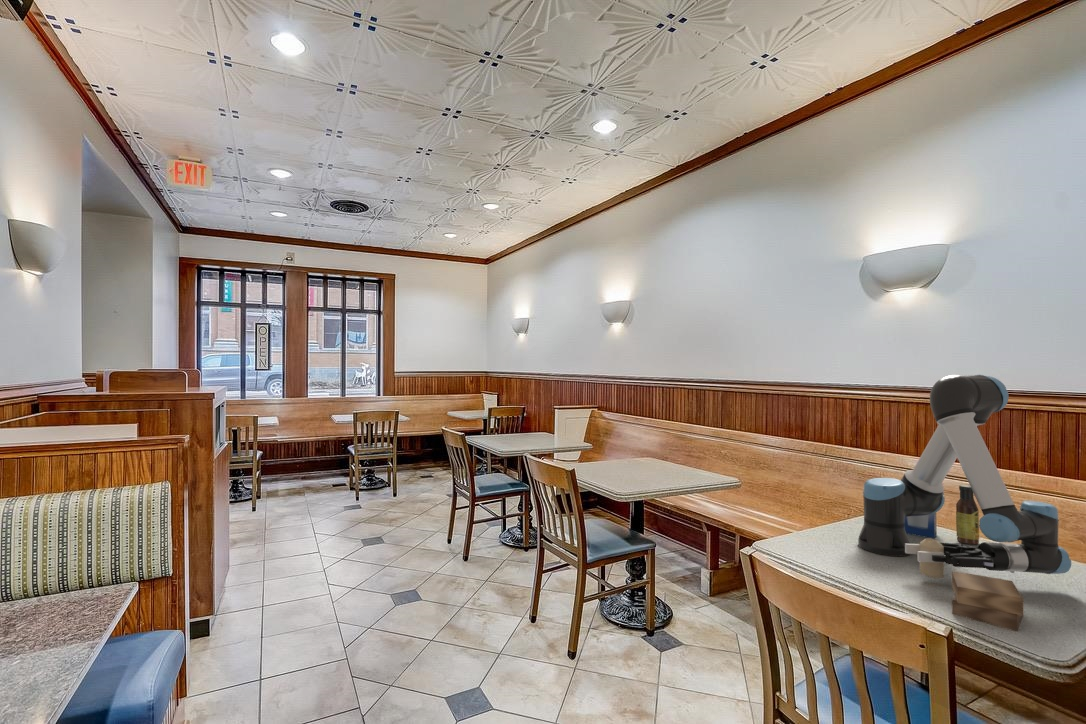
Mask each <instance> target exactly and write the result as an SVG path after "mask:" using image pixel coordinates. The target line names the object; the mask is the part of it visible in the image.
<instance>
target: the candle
mask: <svg viewBox="0 0 1086 724" xmlns="http://www.w3.org/2000/svg"><path fill="white" fill-rule="evenodd" d="M940 543H941V542H939V541H938V540H936V539H935V538H929V537H925V538H924V539H923V540H921V541H920V542H919V544H920V551H925V552H943V553H944V546H943V545H942V544H940ZM944 564H945V562H944V563H935V562H919V573H920V574H922V575H923V576H925V577H928V578H929V577H930V578H935V579H942V578H944V576H945V575H944V572H945V571H944V568H945V565H944Z"/></svg>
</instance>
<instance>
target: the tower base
mask: <svg viewBox="0 0 1086 724" xmlns="http://www.w3.org/2000/svg"><path fill="white" fill-rule="evenodd" d="M951 612H952V613H951V614H953V615H956V616H960V617H963V618H966V617H967V619H970V618H971V620H974V621H978V622H981V623H984V624H988V625H992V626H996V627H1000V628H1003V629H1007V630H1008V631H1009V630H1010V631H1013V632H1018V631H1019V628H1020V625H1021V623H1022V619H1023V617H1024V614H1023V615H1017V614H1012V613H1007V612H1002V611H997V610H992V609H987V608H982V607H977V606H972V605H967V604H962V603H958V602H957V599H956V596H955V595H953V597H952V599H951Z"/></svg>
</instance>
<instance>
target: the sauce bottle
mask: <svg viewBox="0 0 1086 724" xmlns="http://www.w3.org/2000/svg"><path fill="white" fill-rule="evenodd" d="M958 490H959V499H958V500H957V502H956V504H955V506H956V507H955V509H956V510H955V520H956V521H955V522H956V523H955V524H956V528H955V529H956V538H957V539H956V540H957V541H958V543H961V544H966V545H979V544H980V543H979V542H980V527H979V523H980V522H979V521H980V516H979V515H980V514H979V508H978V506H977V503H976V501H975V499H974V498H975V496H974V493H973V491H972V489H971V486H970V485H966V484H959V486H958Z"/></svg>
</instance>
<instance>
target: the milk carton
mask: <svg viewBox="0 0 1086 724" xmlns="http://www.w3.org/2000/svg"><path fill="white" fill-rule="evenodd" d="M905 531H906V534H907V533H909V535H912V534H914V535H913V536H918V535H920V536H919V537H923V536H925V537H924V538H929V537H930V538H932V539H936V536H937V532H938V531H937V512H935V513H933V514H929V515H923V516H922V515H921V516H908V517H905Z"/></svg>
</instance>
